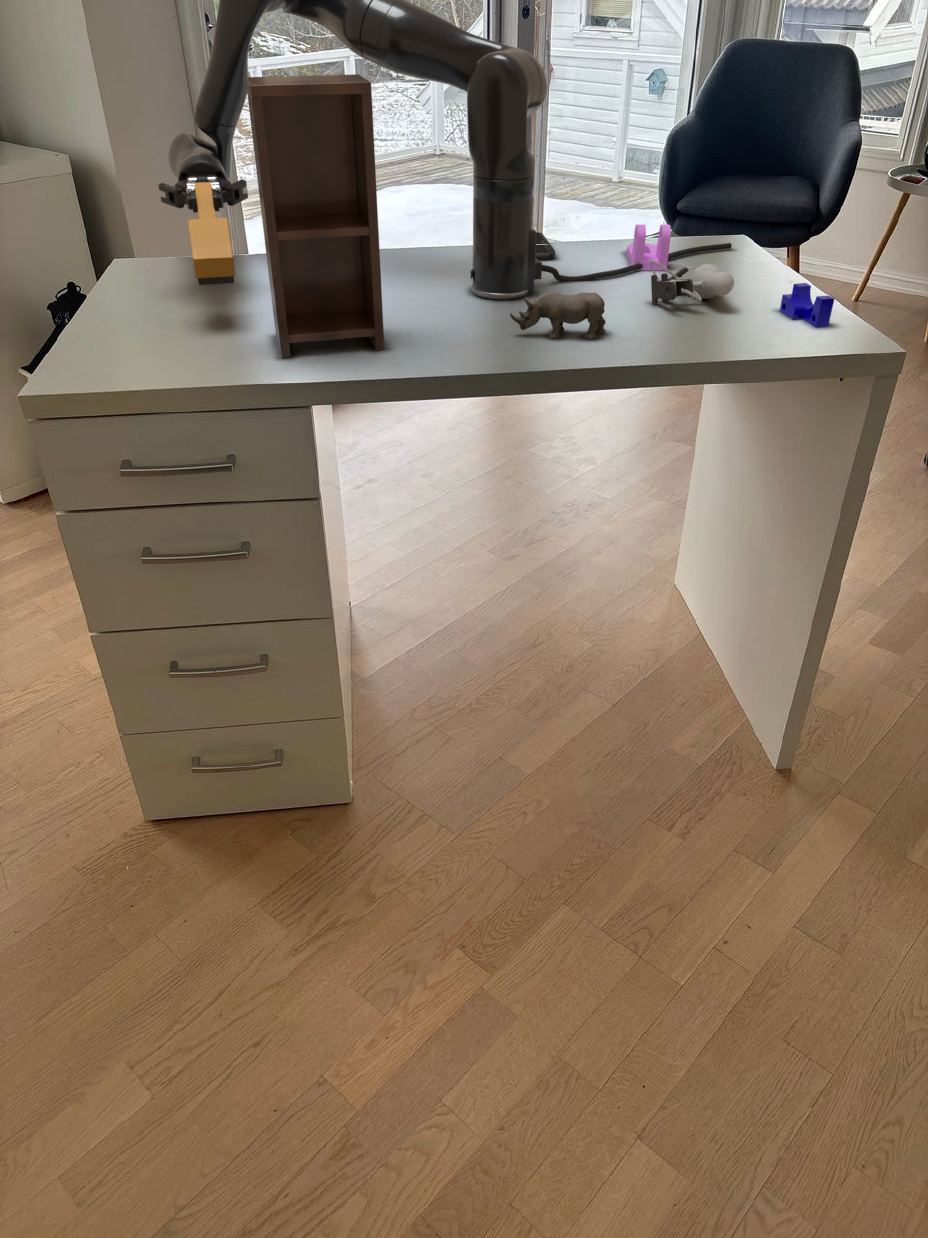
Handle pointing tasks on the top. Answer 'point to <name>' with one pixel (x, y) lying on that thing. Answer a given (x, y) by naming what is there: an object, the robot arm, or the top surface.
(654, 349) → the top surface
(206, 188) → the brush
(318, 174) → the shelf
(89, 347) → the top surface
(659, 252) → the bracket
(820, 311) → the cable holder
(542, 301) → the rhino figurine
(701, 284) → the clip-on lamp
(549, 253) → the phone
